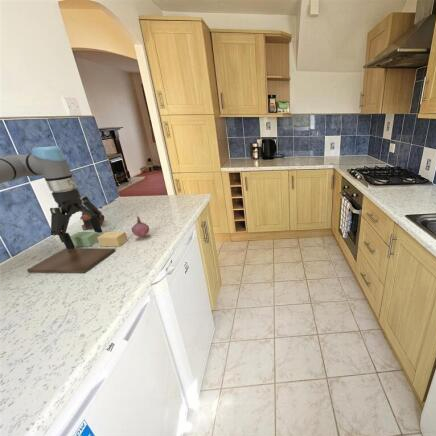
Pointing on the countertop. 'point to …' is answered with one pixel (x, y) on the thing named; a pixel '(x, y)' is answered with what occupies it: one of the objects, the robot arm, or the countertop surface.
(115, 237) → the sand pad
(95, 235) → the sage pad
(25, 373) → the countertop surface
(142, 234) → the vegetable
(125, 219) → the countertop surface
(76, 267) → the board
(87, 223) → the pottery mug
